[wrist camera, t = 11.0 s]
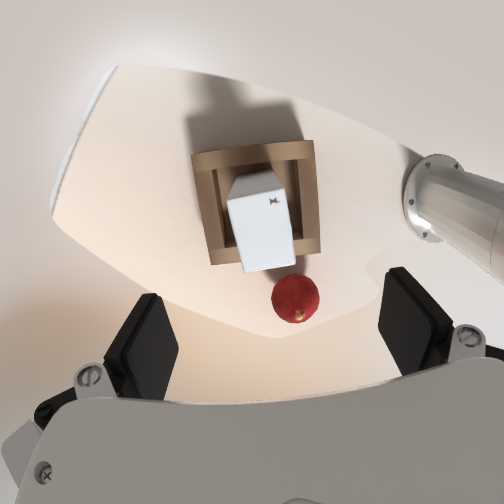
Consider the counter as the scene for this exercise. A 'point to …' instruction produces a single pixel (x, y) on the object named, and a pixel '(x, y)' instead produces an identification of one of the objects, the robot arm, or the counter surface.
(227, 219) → the wooden tray
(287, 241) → the skincare box
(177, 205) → the counter surface
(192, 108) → the counter surface
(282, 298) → the onion
